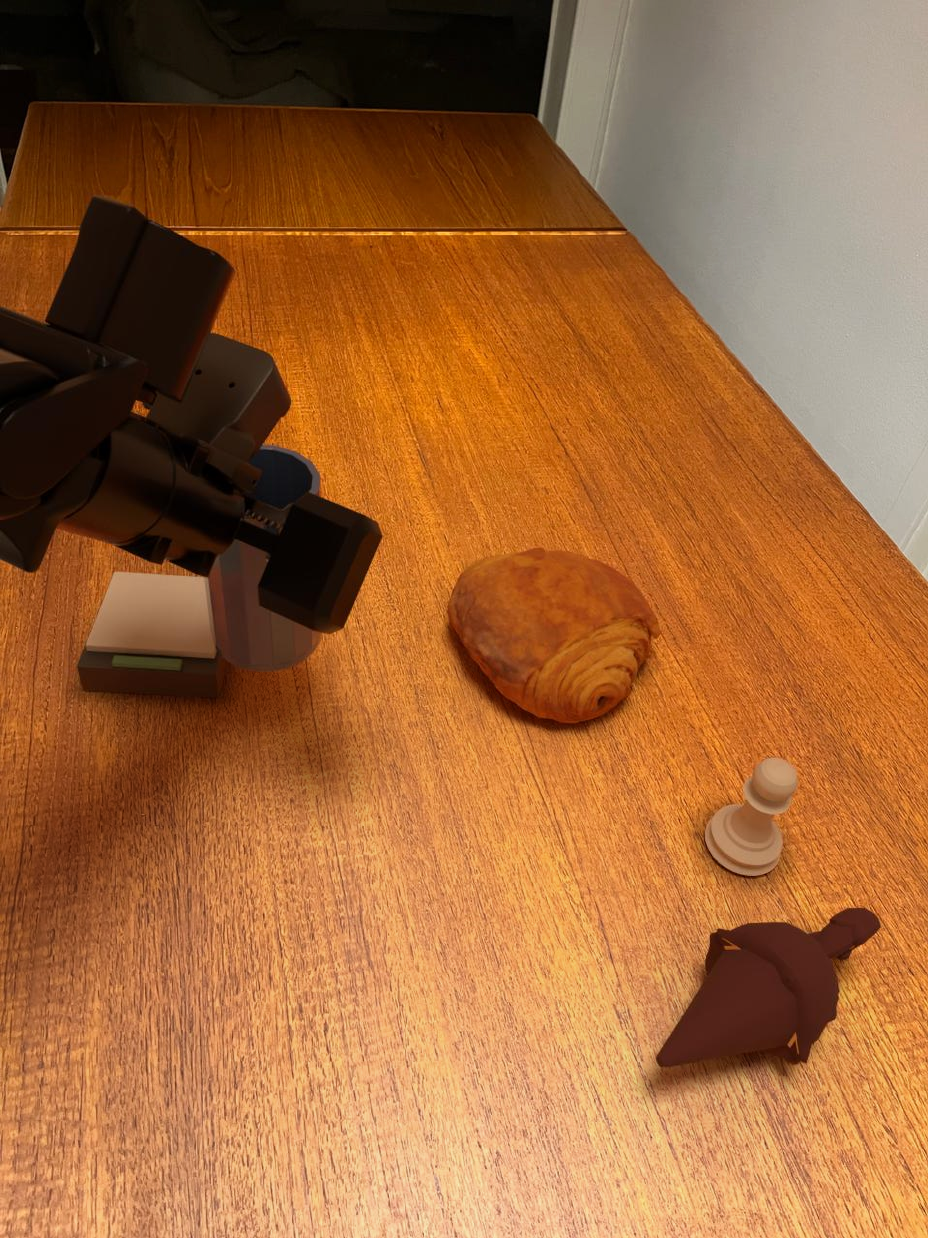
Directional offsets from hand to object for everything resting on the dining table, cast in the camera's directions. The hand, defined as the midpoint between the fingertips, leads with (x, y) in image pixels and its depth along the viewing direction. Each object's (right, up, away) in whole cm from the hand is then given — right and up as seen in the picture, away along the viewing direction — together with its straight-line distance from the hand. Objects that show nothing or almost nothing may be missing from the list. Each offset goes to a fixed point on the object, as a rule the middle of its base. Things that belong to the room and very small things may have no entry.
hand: (276, 541), depth 59 cm
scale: (-10, -7, +10) cm, 15 cm away
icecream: (+27, -27, -6) cm, 38 cm away
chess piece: (+29, -19, +2) cm, 34 cm away
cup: (-1, -6, +4) cm, 7 cm away
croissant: (+18, -7, +13) cm, 23 cm away
